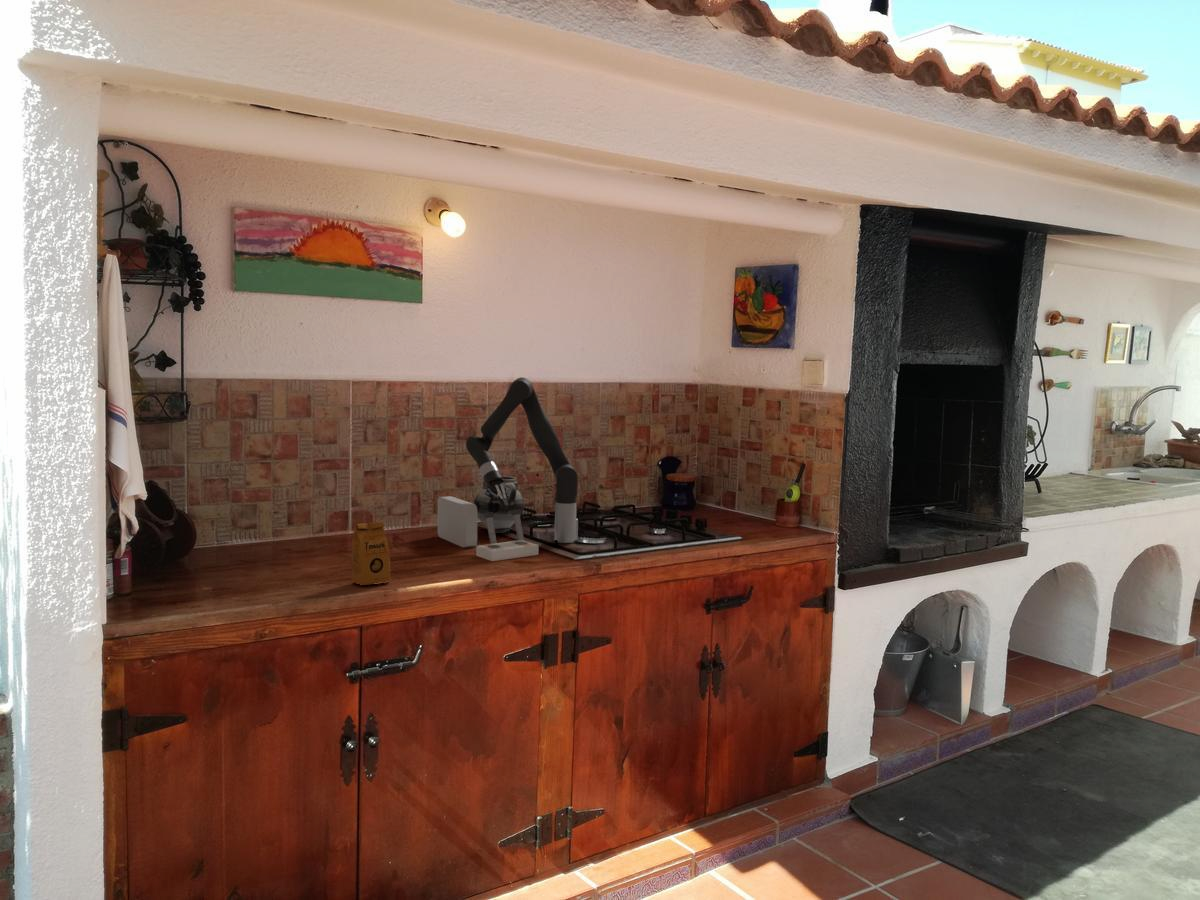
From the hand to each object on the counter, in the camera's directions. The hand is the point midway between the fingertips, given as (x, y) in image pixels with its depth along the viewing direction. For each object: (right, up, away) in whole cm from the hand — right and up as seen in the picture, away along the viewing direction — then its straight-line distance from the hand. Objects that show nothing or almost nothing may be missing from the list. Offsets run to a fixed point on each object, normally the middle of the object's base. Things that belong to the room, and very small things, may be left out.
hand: (506, 507), depth 401 cm
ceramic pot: (-7, -13, +39) cm, 42 cm away
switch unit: (+2, -19, -11) cm, 22 cm away
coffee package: (-42, -23, -61) cm, 78 cm away
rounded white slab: (-22, -16, +13) cm, 30 cm away
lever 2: (+7, -13, -8) cm, 17 cm away
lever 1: (-3, -14, -16) cm, 21 cm away
